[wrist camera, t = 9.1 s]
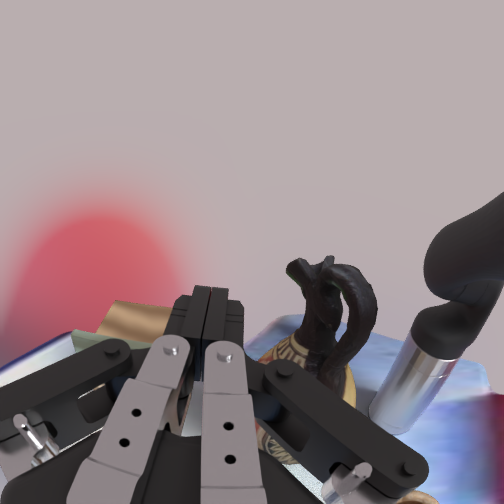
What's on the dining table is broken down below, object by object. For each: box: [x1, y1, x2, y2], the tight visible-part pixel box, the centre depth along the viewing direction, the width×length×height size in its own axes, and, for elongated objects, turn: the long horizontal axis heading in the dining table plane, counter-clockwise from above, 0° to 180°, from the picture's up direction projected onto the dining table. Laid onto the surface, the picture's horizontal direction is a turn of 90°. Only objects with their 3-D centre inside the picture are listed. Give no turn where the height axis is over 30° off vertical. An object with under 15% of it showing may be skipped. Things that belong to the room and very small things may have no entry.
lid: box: [71, 300, 173, 353], centre depth 38 cm, size 15×12×6 cm
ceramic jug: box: [254, 255, 378, 483], centre depth 31 cm, size 17×15×30 cm
